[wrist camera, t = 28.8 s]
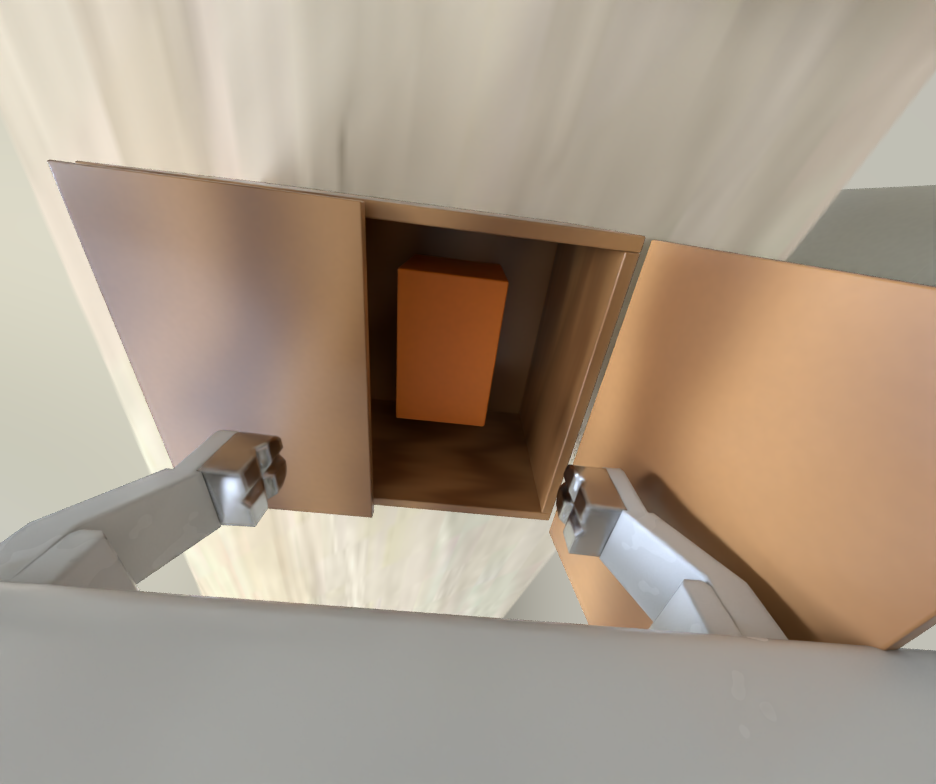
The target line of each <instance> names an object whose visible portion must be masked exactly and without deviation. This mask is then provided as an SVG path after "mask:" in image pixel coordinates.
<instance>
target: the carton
mask: <svg viewBox="0 0 936 784" xmlns="http://www.w3.org/2000/svg"><path fill="white" fill-rule="evenodd" d="M47 162H48V164H49V167H50V169H51V172H52V174H53V176H54V179H55V181H56V184H57V186H58V189H59V191H60V193H61V196H62V198H63V201H64V203H65V206H66V208H67V210H68V213H69V215H70V218H71V220H72V223H73V225H74V227H75V230H76V232H77V235H78V237H79V239H80V242H81V244H82V247H83V249H84V252H85V254H86V256H87V259H88V261H89V264H90V266H91V269H92V271H93V273H94V276H95V278H96V281H97V283H98V286H99V288H100V290H101V293H102V295H103V298H104V300H105V303H106V305H107V307H108V310H109V312H110V315H111V317H112V319H113V322H114V324H115V327H116V329H117V332H118V334H119V336H120V339H121V341H122V344H123V346H124V349H125V351H126V353H127V356H128V358H129V361H130V363H131V366H132V368H133V370H134V373H135V375H136V378H137V380H138V383H139V385H140V387H141V390H142V392H143V395H144V397H145V399H146V402H147V404H148V407H149V409H150V412H151V414H152V416H153V419H154V421H155V424H156V426H157V429H158V431H159V433H160V436H161V438H162V441H163V443H164V446H165V448H166V450H167V453H168V455H169V458H170V460H171V463H172V465H173V467H176V466H177V465H178V464H179V463H180V462H181V461H183V460H184V459H185V458H186V457H187V456H188V455H189V454H191V453H192V452H193V451H194V450H195V449H196V448H198V447H199V446H200V445H201V444H202V443H203V442H204V441H206V440H207V439H208V438H209V437H210V436H211V435H213V434H214V433H215V432H216V431H219V430H230V431H238V432H249V433H258V434H266V435H274V436H278V437H280V438H281V441H282V445H283V449H282V450H281V451H280V453H279V454H280V455H281V456H282V457H283V458H284V459H285V460H286V465H287V475H286V478H285V481H284V484H283V486H282V488H281V489H280V491H279V493H278V494H276V495H275V496H273V497H271V498H269V499H268V504H269V507H268V508H269V509H281V510H292V511H303V512H315V513H326V514H337V515H348V516H360V517H372V516H373V513H374V505H384V506H395V507H406V508H417V509H428V510H440V511H451V512H462V513H473V514H484V515H495V516H506V517H517V518H528V519H539V520H549V518H550V515H551V512H552V509H553V506H554V503H555V501H556V498H557V493H558V489H559V486H560V485H561V483H562V480H563V477H564V475H563V474H564V472H565V469H566V467H567V466H568V463H569V460H570V457H571V454H572V451H573V448H574V445H575V442H576V439H577V436H578V433H579V431H580V428H581V425H582V422H583V419H584V416H585V413H586V410H587V407H588V404H589V401H590V398H591V396H592V393H593V390H594V387H595V384H596V381H597V378H598V375H599V372H600V369H601V366H602V363H603V360H604V358H605V355H606V352H607V349H608V346H609V343H610V340H611V337H612V334H613V331H614V328H615V325H616V323H617V320H618V317H619V314H620V311H621V308H622V305H623V302H624V299H625V296H626V293H627V290H628V288H629V285H630V282H631V279H632V276H633V273H634V270H635V267H636V264H637V261H638V258H639V255H640V254H639V253H640V252H641V250H642V247H643V244H644V241H645V236H641V235H635V234H630V233H624V232H618V231H612V230H606V229H600V228H594V227H589V226H583V225H577V224H571V223H564V222H557V221H549V220H542V219H534V218H527V217H519V216H512V215H504V214H497V213H489V212H482V211H474V210H466V209H459V208H451V207H444V206H436V205H429V204H421V203H414V202H406V201H399V200H391V199H384V198H376V197H369V196H361V195H354V194H346V193H339V192H331V191H324V190H316V189H309V188H301V187H294V186H286V185H279V184H271V183H263V182H255V181H247V180H238V179H230V178H221V177H212V176H204V175H195V174H187V173H178V172H169V171H161V170H152V169H143V168H135V167H126V166H118V165H109V164H100V163H92V162H83V161H76V162H75V163H72V162H64V161H56V160H47ZM415 254H420V255H428V256H436V257H444V258H451V259H459V260H467V261H475V262H483V263H491V264H499V265H501V267H502V269H503V271H504V273H505V276H506V278H507V280H508V282H509V285H508V291H507V296H506V302H505V308H504V314H503V320H502V326H501V332H500V337H499V343H498V349H497V355H496V361H495V367H494V373H493V379H492V384H491V390H490V396H489V402H488V408H487V414H486V420H485V425H484V426H474V425H464V424H454V423H444V422H435V421H425V420H415V419H405V418H397V417H396V360H397V281H398V268H399V267H400V266H401V265H403V264H404V263H405V262H406V261H407V260H409V259H410V258H411V257H412V256H413V255H415Z"/></svg>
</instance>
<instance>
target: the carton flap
mask: <svg viewBox="0 0 936 784" xmlns="http://www.w3.org/2000/svg"><path fill="white" fill-rule="evenodd" d="M573 465H580V466H591V467H601V468H602V467H608V468H620V469H621V470H623V471H624V472H625V474H626V476H627V478H628V479H629V481H630V483H631V484H632V486H633V488H634V490H635V491H636V493H637V495H638V496H639V498H640V500H641V502H642V503H643V505H644V507H645V508H646V510H647V512H648V513H654V514H655V515H657V516H658V517H659V518H661V519H662V520H663V521H665V522H666V523H667V524H669V525H670V526H671V527H673V528H674V529H675V530H677V531H678V532H679V533H681V534H682V535H683V536H685V537H686V538H687V539H689V540H690V541H691V542H693V543H694V544H695V545H697V546H698V547H699V548H701V549H702V550H704V551H705V552H706V553H708V554H709V555H710V556H712V557H713V558H714V559H716V560H717V561H718V562H720V563H721V564H722V565H724V566H725V567H726V568H728V569H729V570H730V571H732V572H733V573H734V574H736V575H737V576H738V577H740V578H741V579H742V580H744V581H745V582H746V583H747V584H748V585H749V586H750V588H751V589H752V590H753V592H754V593H755V595H756V596H757V597H758V599H759V600H760V601H761V603H762V604H763V605H764V607H765V608H766V610H767V611H768V612H769V614H770V615H771V616H772V618H773V619H774V621H775V622H776V623H777V625H778V626H779V627H780V629H781V630H782V631H783V633H784V634H785V636H786V637H787V638H788V640H798V641H812V642H825V643H839V644H852V645H865V646H872V647H875V648H878V649H881V650H885V651H887V650H896V649H899V648H901V647H902V646H904V645H905V644H906V643H908V642H910V641H911V640H913V639H914V638H916V637H917V636H919V635H920V634H922V633H923V632H925V631H926V630H928V629H929V628H931V627H932V626H934V625H935V624H936V287H935V286H930V285H924V284H918V283H912V282H906V281H900V280H894V279H888V278H882V277H876V276H870V275H864V274H858V273H852V272H846V271H840V270H834V269H828V268H822V267H816V266H810V265H804V264H798V263H792V262H786V261H780V260H774V259H768V258H762V257H756V256H750V255H744V254H738V253H732V252H726V251H720V250H714V249H709V248H703V247H697V246H691V245H685V244H679V243H673V242H667V241H660V240H652V241H651V244H650V247H649V249H648V252H647V255H646V258H645V261H644V264H643V267H642V269H641V272H640V275H639V278H638V281H637V284H636V286H635V289H634V292H633V295H632V298H631V301H630V303H629V306H628V309H627V312H626V315H625V318H624V320H623V323H622V326H621V329H620V332H619V335H618V338H617V340H616V343H615V346H614V349H613V352H612V355H611V357H610V360H609V363H608V366H607V369H606V372H605V374H604V377H603V380H602V383H601V386H600V389H599V391H598V394H597V397H596V400H595V403H594V406H593V409H592V411H591V414H590V417H589V420H588V423H587V426H586V428H585V431H584V434H583V437H582V440H581V443H580V445H579V448H578V451H577V454H576V457H575V460H574V462H573ZM564 528H565V524H564V523H563V522H562V521H561V520H560V519H559V517H558V513H557V511H556V514H555V516H554V519H553V522H552V525H551V528H550V531H549V533H550V536H551V538H552V540H553V543H554V545H555V547H556V550H557V552H558V554H559V557H560V559H561V561H562V563H563V566H564V568H565V570H566V573H567V575H568V577H569V580H570V582H571V584H572V586H573V589H574V591H575V593H576V596H577V598H578V600H579V603H580V605H581V607H582V610H583V612H584V614H585V617H586V619H587V621H588V624H589V625H598V626H612V627H625V628H638V629H649V628H650V626H651V625H652V623H653V621H652V620H651V618H650V617H649V616H648V615H647V614H646V613H645V611H644V610H643V609H642V608H641V607H640V606H639V604H638V603H637V602H636V601H635V600H634V599H633V597H632V596H631V595H630V594H629V593H628V592H627V590H626V589H625V588H624V587H623V586H622V585H621V583H620V582H619V581H618V580H617V579H616V577H615V576H614V575H613V574H612V573H611V572H610V570H609V569H608V568H607V567H606V566H605V565H604V563H603V562H602V561H601V560H600V559H599V558H600V557H596V556H587V555H578V554H569V552H568V549H567V545H566V542H565V538H564V535H563V530H564Z"/></svg>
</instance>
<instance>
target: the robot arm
mask: <svg viewBox="0 0 936 784" xmlns="http://www.w3.org/2000/svg"><path fill="white" fill-rule="evenodd" d="M282 449H283V445H282V441H281V438H280V437H278V436H274V435H266V434H258V433H249V432H238V431H230V430H219V431H216V432H215V433H214V434H213V435H211V436H210V437H209V438H208V439H207V440H206V441H204V442H203V443H202V444H201V445H200V446H199V447H198V448H196V449H195V450H194V451H193V452H192V453H191V454H189V455H188V456H187V457H186V458H185V459H184V460H183V461H181V462H180V463H179V464H178V465H177V466H176V467H174V468H173V469H167V468H166V469H164V470H161V471H159V472H156V473H153V474H151V475H148V476H146V477H144V478H141V479H139V480H136V481H133V482H131V483H128V484H126V485H123V486H121V487H118V488H116V489H113V490H110V491H108V492H105V493H103V494H101V495H98V496H95V497H93V498H90V499H88V500H85V501H83V502H80V503H78V504H75V505H73V506H70V507H67V508H65V509H62V510H60V511H57V512H55V513H52V514H50V515H48V516H45V517H42V518H40V519H37V520H35V521H32V522H30V523H28V524H27V525H25V526H24V527H22V528H21V529H20V530H18V531H17V532H15V533H14V534H12V535H11V536H10V537H8V538H7V539H6V540H4V541H3V542H1V543H0V784H936V651H933V650H920V649H906V648H899V649H896V650H887V651H885V650H881V649H878V648H875V647H872V646H865V645H852V644H839V643H825V642H812V641H798V640H788V638H787V637H786V636H785V634H784V633H783V631H782V630H781V629H780V627H779V626H778V625H777V623H776V622H775V621H774V619H773V618H772V616H771V615H770V614H769V612H768V611H767V610H766V608H765V607H764V605H763V604H762V603H761V601H760V600H759V599H758V597H757V596H756V595H755V593H754V592H753V590H752V589H751V588H750V586H749V585H748V584H747V583H746V582H745V581H744V580H742V579H741V578H740V577H738V576H737V575H736V574H734V573H733V572H732V571H730V570H729V569H728V568H726V567H725V566H724V565H722V564H721V563H720V562H718V561H717V560H716V559H714V558H713V557H712V556H710V555H709V554H708V553H706V552H705V551H704V550H702V549H701V548H699V547H698V546H697V545H695V544H694V543H693V542H691V541H690V540H689V539H687V538H686V537H685V536H683V535H682V534H681V533H679V532H678V531H677V530H675V529H674V528H673V527H671V526H670V525H669V524H667V523H666V522H665V521H663V520H662V519H661V518H659V517H658V516H657V515H655V514H654V513H648V512H647V510H646V508H645V507H644V505H643V503H642V502H641V500H640V498H639V496H638V495H637V493H636V491H635V490H634V488H633V486H632V484H631V483H630V481H629V479H628V478H627V476H626V474H625V472H624V471H623V470H621V469H620V468H608V467H602V468H601V467H591V466H580V465H568V466H567V467H566V469H565V472H564V474H563V475H564V478H565V481H566V482H564V483H563V484H562V485H560V486H559V489H558V493H557V501H556V506H557V513H558V517H559V519H560V520H561V521H562V522H563V523H564V524H565V528H564V530H563V535H564V538H565V542H566V545H567V549H568V552H569V554H578V555H587V556H596V557H600V558H599V559H600V560H601V561H602V562H603V563H604V565H605V566H606V567H607V568H608V569H609V570H610V572H611V573H612V574H613V575H614V576H615V577H616V579H617V580H618V581H619V582H620V583H621V585H622V586H623V587H624V588H625V589H626V590H627V592H628V593H629V594H630V595H631V596H632V597H633V599H634V600H635V601H636V602H637V603H638V604H639V606H640V607H641V608H642V609H643V610H644V611H645V613H646V614H647V615H648V616H649V617H650V618H651V620H652V621H653V623H652V625H651V626H650V628H649V629H638V628H625V627H612V626H598V625H585V624H571V623H557V622H545V621H529V620H518V619H504V618H490V617H477V616H463V615H450V614H436V613H423V612H409V611H396V610H383V609H369V608H356V607H343V606H330V605H316V604H303V603H290V602H276V601H263V600H250V599H236V598H223V597H210V596H196V595H183V594H168V593H156V592H143V591H140V590H139V588H138V587H137V585H136V584H138V583H139V582H140V581H142V580H143V579H145V578H146V577H148V576H149V575H151V574H152V573H153V572H155V571H157V570H158V569H160V568H161V567H162V566H164V565H165V564H167V563H168V562H170V561H171V560H173V559H174V558H176V557H177V556H179V555H180V554H182V553H183V552H184V551H186V550H187V549H189V548H190V547H192V546H193V545H195V544H196V543H198V542H199V541H201V540H202V539H204V538H205V537H206V536H208V535H209V534H211V533H212V532H214V531H215V530H217V529H218V528H220V527H221V525H233V526H250V527H255V526H256V525H257V523H258V522H259V520H260V519H261V518H262V516H263V515H264V513H265V512H266V510H267V509H268V507H269V504H268V499H269V498H271V497H273V496H275V495H276V494H278V493H279V491H280V489H281V488H282V486H283V484H284V481H285V478H286V475H287V465H286V460H285V459H284V458H283V457H282V456H281V455H280V454H279V453H280V451H281V450H282Z"/></svg>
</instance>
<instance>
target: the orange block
mask: <svg viewBox="0 0 936 784" xmlns="http://www.w3.org/2000/svg"><path fill="white" fill-rule="evenodd" d="M508 285H509V282H508V280H507V278H506V276H505V273H504V271H503V269H502V267H501V265H499V264H491V263H483V262H475V261H467V260H459V259H451V258H444V257H436V256H428V255H420V254H415V255H413V256H412V257H411V258H410V259H409V260H407V261H406V262H405V263H404V264H403V265H401V266H400V267H399V268H398V281H397V360H396V417H397V418H405V419H415V420H425V421H435V422H444V423H454V424H464V425H474V426H484V425H485V420H486V414H487V408H488V402H489V396H490V390H491V384H492V379H493V373H494V367H495V361H496V355H497V349H498V343H499V337H500V332H501V326H502V320H503V314H504V308H505V302H506V296H507V291H508Z"/></svg>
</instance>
